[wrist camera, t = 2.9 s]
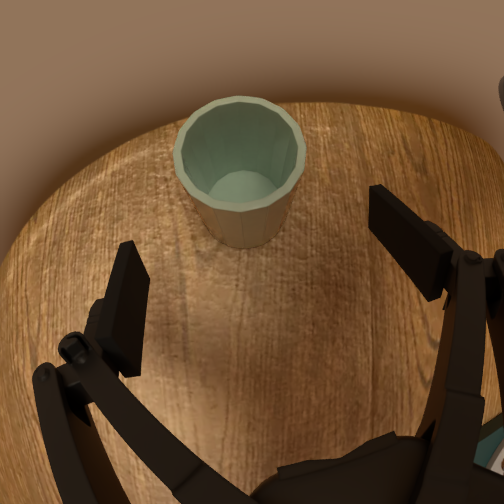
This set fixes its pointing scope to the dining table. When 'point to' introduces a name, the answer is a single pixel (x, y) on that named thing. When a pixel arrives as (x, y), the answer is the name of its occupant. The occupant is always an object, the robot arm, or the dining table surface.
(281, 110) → the cup
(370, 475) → the robot arm
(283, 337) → the dining table surface
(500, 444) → the scale
